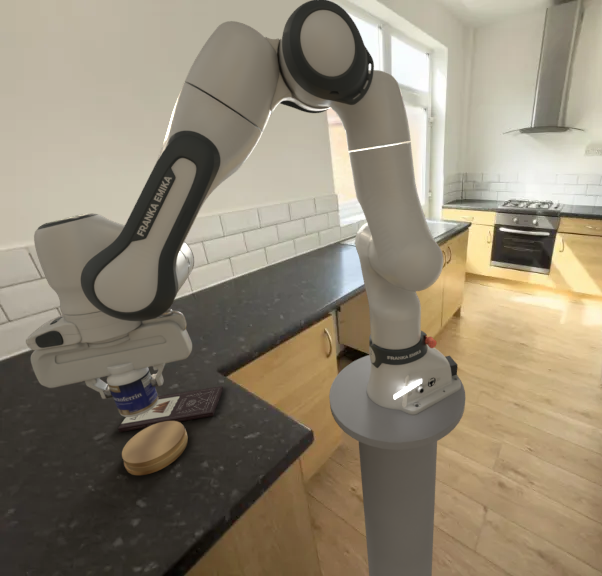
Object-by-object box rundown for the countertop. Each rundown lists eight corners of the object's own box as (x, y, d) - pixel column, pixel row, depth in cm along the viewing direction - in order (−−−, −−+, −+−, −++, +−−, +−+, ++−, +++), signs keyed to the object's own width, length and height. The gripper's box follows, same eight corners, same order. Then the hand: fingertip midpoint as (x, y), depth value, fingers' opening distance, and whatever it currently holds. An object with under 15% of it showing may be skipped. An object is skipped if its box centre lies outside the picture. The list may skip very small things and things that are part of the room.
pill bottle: (113, 421, 53) (92, 372, 50) (129, 398, 58) (111, 352, 55) (151, 414, 55) (133, 366, 51) (164, 393, 60) (149, 347, 56)
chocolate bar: (212, 412, 69) (117, 428, 65) (213, 415, 69) (119, 432, 66) (222, 386, 77) (138, 399, 73) (223, 389, 77) (140, 402, 74)
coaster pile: (192, 424, 67) (188, 413, 66) (185, 463, 58) (181, 451, 57) (134, 441, 63) (129, 429, 62) (117, 485, 55) (111, 473, 53)
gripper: (184, 300, 57) (202, 365, 62) (34, 324, 49) (69, 395, 55) (178, 314, 51) (199, 384, 56) (9, 343, 44) (50, 420, 49)
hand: (134, 390), depth 55 cm, fingers closed on pill bottle, 6 cm apart
